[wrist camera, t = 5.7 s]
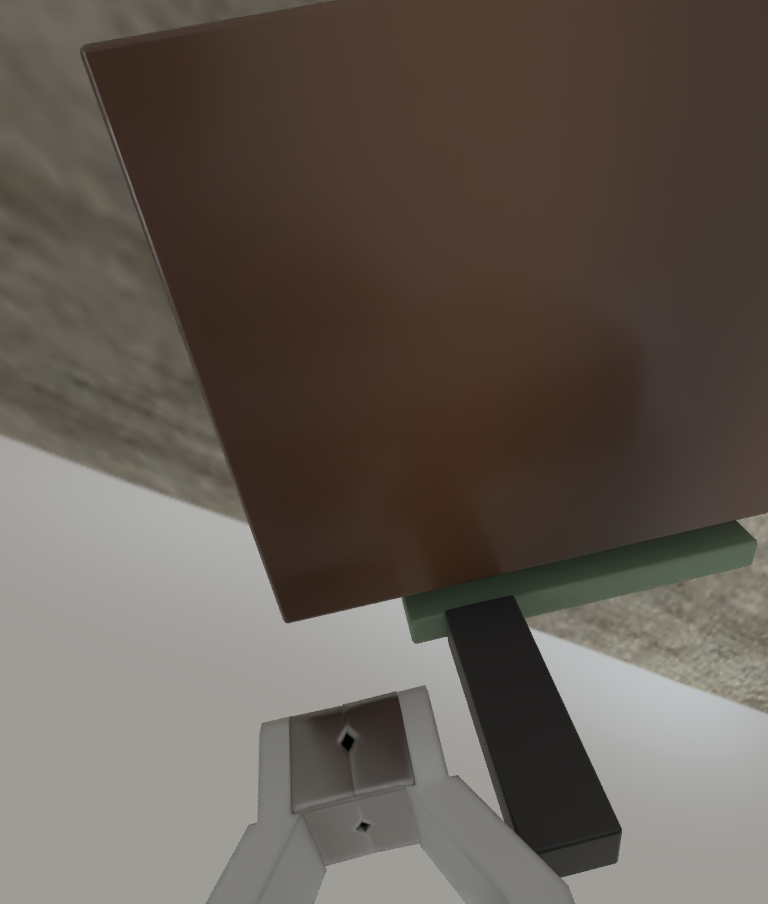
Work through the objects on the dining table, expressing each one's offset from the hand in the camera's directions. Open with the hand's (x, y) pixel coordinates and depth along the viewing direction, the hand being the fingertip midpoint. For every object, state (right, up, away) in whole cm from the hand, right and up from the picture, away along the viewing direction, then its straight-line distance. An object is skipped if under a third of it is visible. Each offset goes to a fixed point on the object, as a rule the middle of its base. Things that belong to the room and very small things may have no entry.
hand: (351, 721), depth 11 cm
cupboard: (+3, +13, +7) cm, 15 cm away
